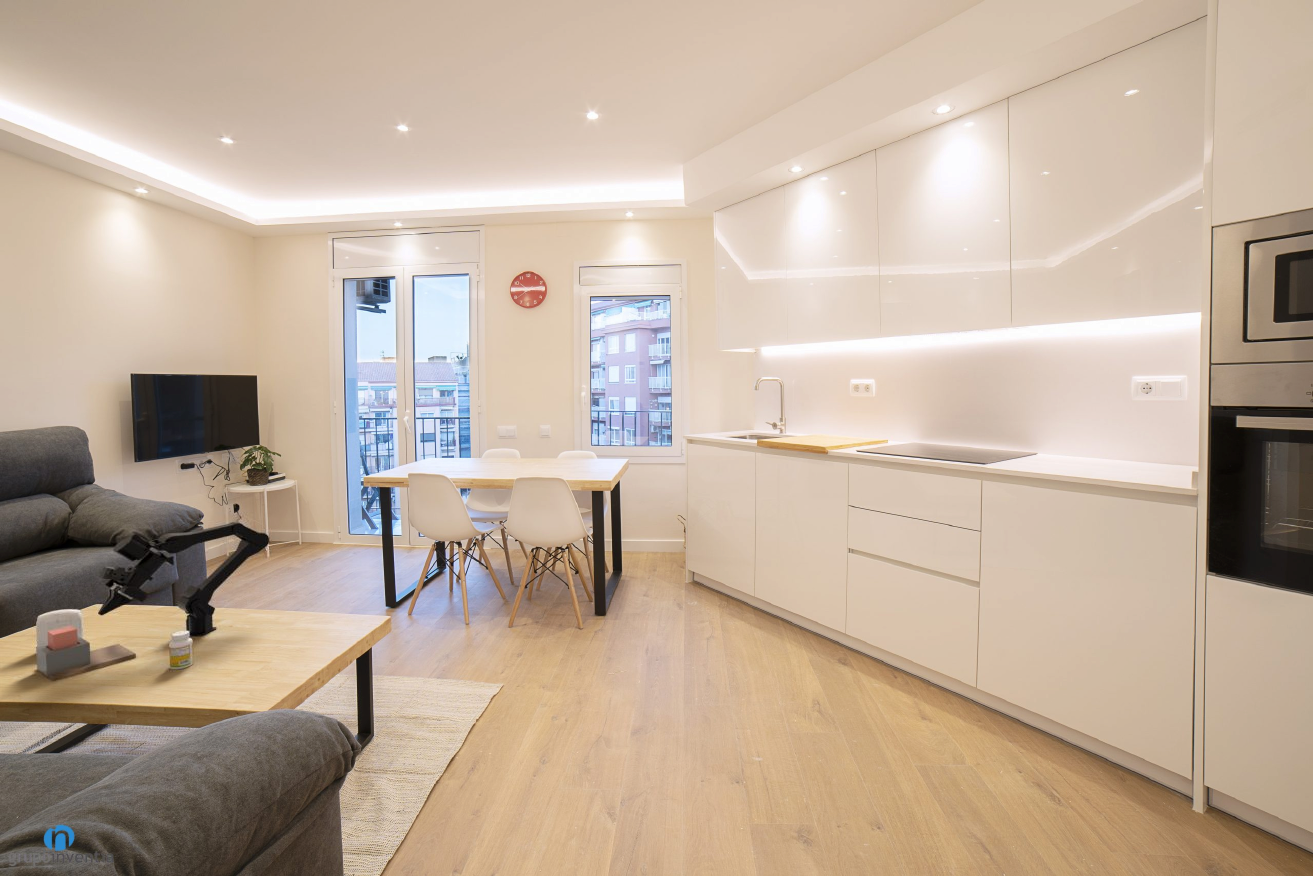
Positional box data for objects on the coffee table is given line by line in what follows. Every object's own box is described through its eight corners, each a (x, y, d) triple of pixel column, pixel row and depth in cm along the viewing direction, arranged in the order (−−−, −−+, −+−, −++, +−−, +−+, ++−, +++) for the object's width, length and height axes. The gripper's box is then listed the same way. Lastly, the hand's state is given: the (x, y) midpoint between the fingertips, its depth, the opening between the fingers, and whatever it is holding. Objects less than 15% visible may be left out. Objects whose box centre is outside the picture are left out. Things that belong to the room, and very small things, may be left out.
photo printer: (85, 643, 187) (83, 605, 187) (81, 648, 184) (79, 609, 183) (39, 651, 182) (37, 611, 181) (35, 655, 178) (33, 615, 178)
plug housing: (80, 656, 175) (79, 636, 175) (90, 663, 170) (89, 643, 170) (37, 667, 167) (36, 647, 167) (46, 675, 163) (45, 654, 162)
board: (118, 647, 184) (118, 643, 184) (136, 657, 177) (135, 653, 177) (37, 669, 169) (36, 665, 169) (52, 681, 162) (52, 676, 162)
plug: (72, 646, 172) (71, 625, 172) (78, 649, 169) (77, 629, 169) (48, 652, 168) (47, 631, 167) (53, 655, 165) (52, 634, 165)
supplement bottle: (178, 662, 174) (177, 629, 173) (198, 661, 174) (196, 629, 174) (165, 670, 169) (163, 637, 168) (185, 669, 169) (183, 636, 169)
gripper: (109, 551, 184) (62, 595, 175) (132, 559, 174) (83, 607, 165) (142, 570, 191) (98, 614, 182) (166, 579, 181) (121, 625, 172)
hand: (99, 614), depth 175 cm, fingers closed
